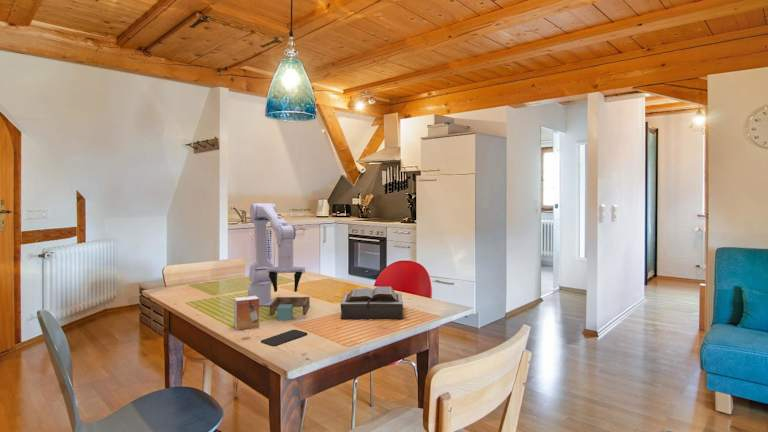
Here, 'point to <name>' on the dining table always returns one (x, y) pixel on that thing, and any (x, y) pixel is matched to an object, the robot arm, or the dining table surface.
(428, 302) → the dining table surface
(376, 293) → the bible
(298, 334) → the phone
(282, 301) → the walnut crate
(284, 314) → the teal block
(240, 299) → the small box
